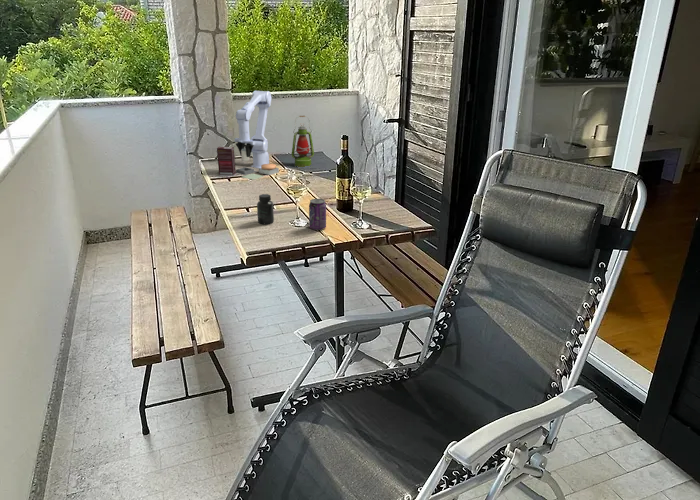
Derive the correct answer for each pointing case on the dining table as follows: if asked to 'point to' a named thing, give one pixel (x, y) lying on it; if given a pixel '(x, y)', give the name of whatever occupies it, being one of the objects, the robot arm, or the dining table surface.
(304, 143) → the lantern
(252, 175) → the mat
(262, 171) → the button housing
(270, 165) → the tan rounded dome
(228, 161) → the supplement box
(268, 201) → the supplement bottle
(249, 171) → the dock
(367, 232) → the dining table surface
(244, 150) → the cylinder
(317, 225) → the beverage can
